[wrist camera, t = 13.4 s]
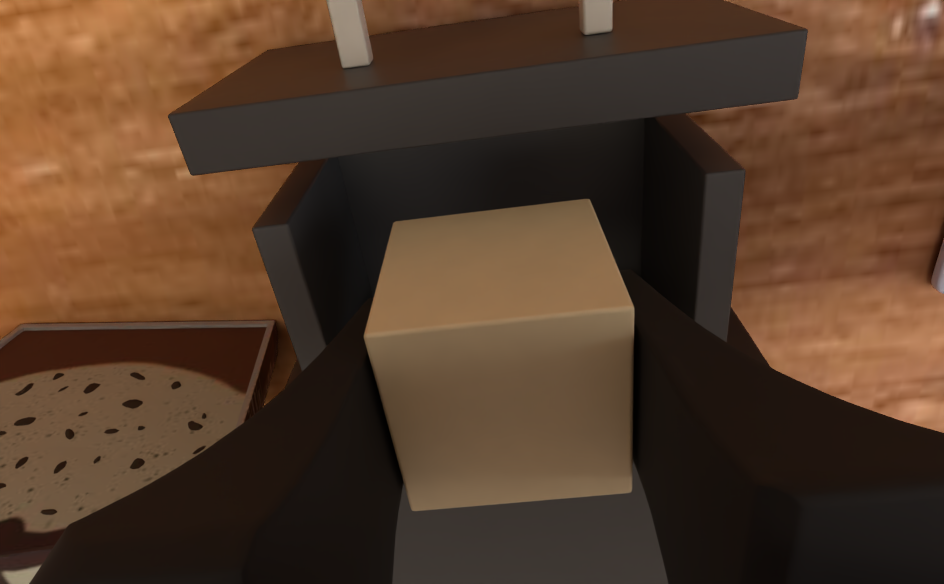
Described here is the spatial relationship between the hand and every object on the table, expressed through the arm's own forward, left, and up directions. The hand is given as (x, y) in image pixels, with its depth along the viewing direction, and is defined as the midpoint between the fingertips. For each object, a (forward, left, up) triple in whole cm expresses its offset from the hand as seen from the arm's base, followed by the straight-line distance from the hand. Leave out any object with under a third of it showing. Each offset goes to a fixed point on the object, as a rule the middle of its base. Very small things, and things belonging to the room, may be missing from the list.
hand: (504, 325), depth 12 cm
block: (0, 0, -1) cm, 1 cm away
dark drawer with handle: (0, -1, -7) cm, 7 cm away
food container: (+13, +7, -8) cm, 17 cm away
